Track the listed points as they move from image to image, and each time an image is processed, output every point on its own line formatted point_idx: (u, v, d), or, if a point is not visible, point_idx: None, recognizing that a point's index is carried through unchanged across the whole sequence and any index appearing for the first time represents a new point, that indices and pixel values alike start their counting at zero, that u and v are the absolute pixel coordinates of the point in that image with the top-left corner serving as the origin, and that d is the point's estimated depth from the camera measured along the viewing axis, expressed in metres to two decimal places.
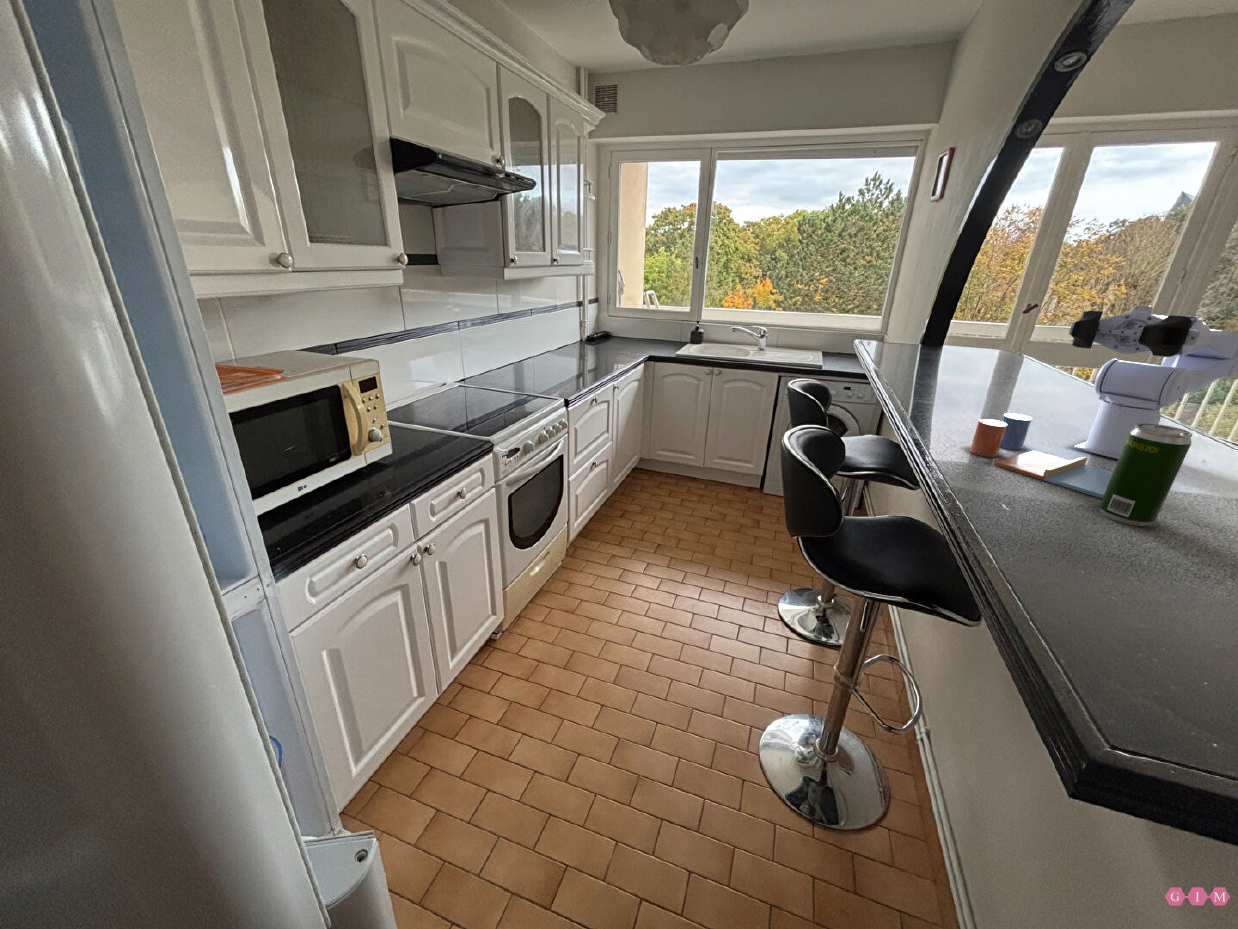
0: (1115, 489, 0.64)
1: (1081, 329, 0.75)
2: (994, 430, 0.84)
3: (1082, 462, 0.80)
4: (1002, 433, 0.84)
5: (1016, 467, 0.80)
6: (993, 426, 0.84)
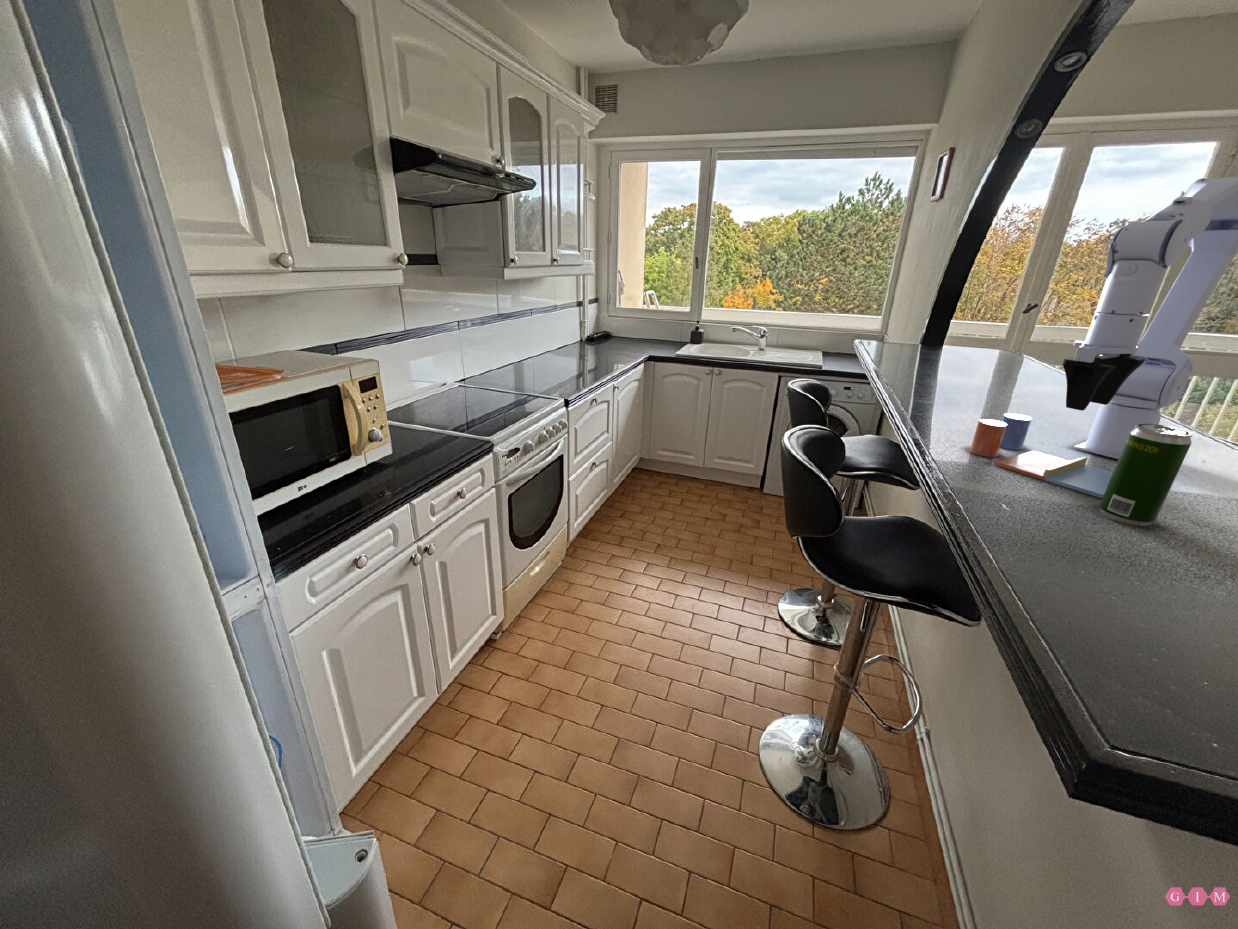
0: (1115, 489, 0.64)
1: (1100, 396, 0.78)
2: (994, 430, 0.84)
3: (1082, 462, 0.80)
4: (1002, 433, 0.84)
5: (1016, 467, 0.80)
6: (993, 426, 0.84)
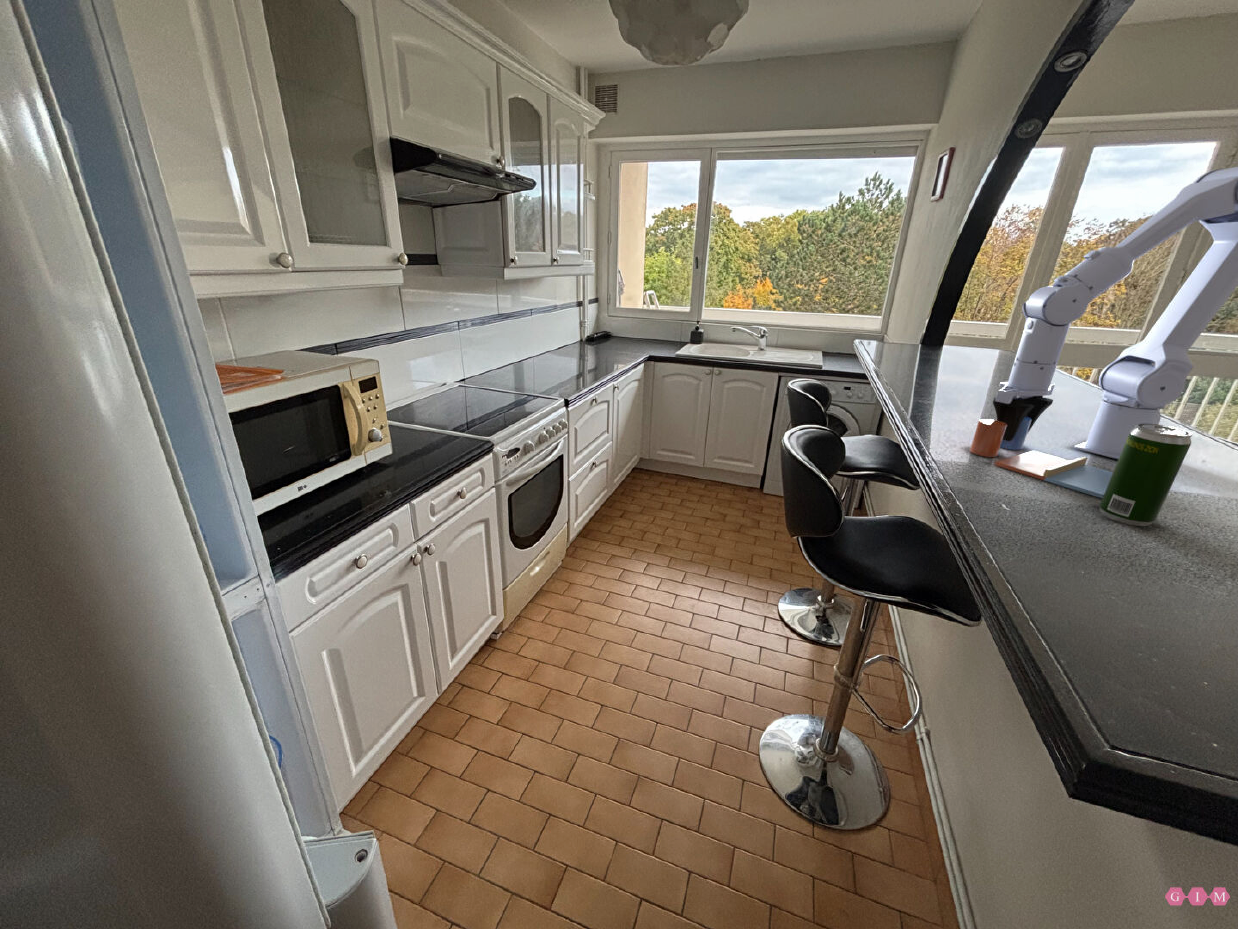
0: (1115, 489, 0.64)
1: None
2: (994, 430, 0.84)
3: (1082, 462, 0.80)
4: (1002, 433, 0.84)
5: (1016, 467, 0.80)
6: (993, 426, 0.84)
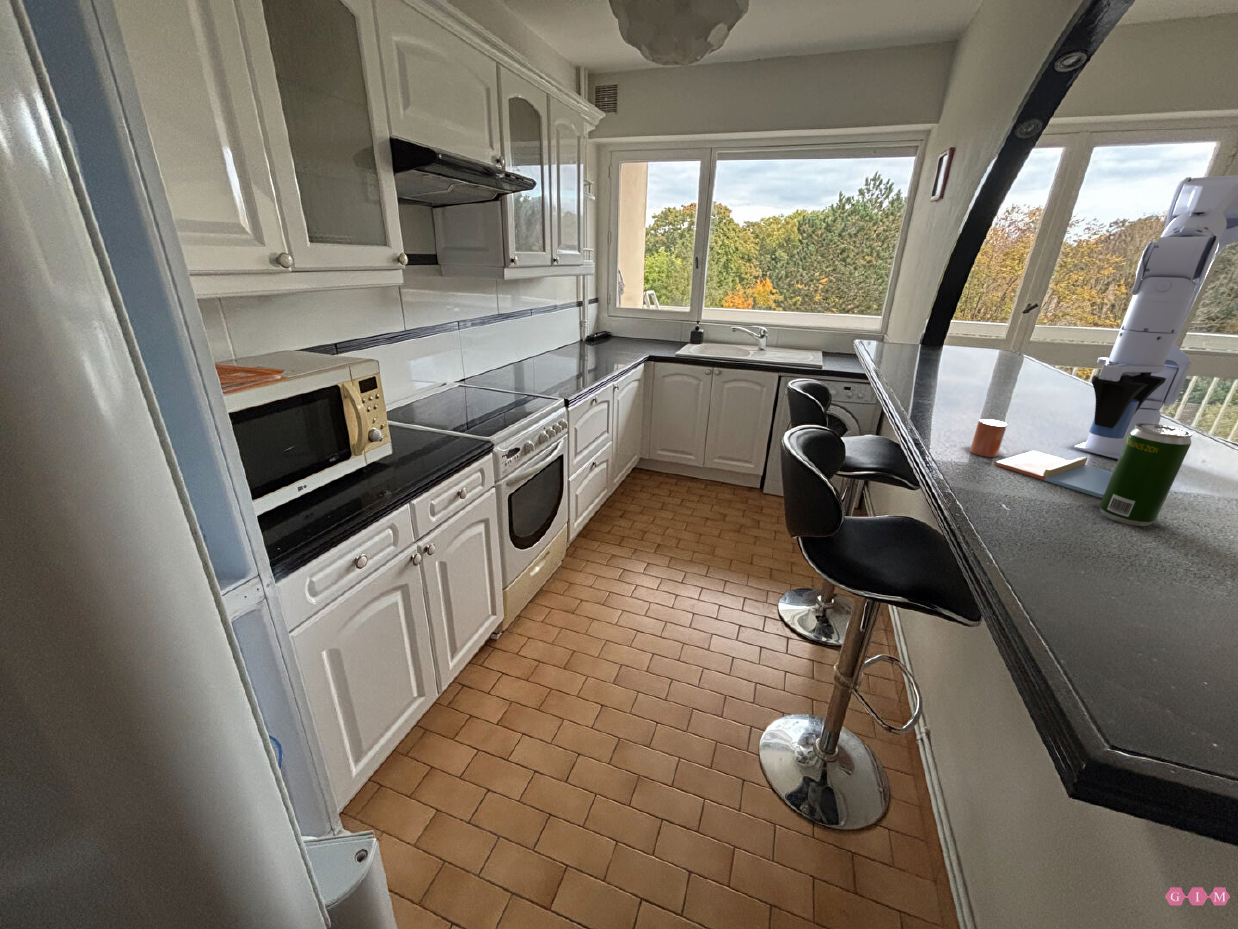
0: (1115, 489, 0.64)
1: None
2: (994, 430, 0.84)
3: (1082, 462, 0.80)
4: (1002, 433, 0.84)
5: (1016, 467, 0.80)
6: (993, 426, 0.84)
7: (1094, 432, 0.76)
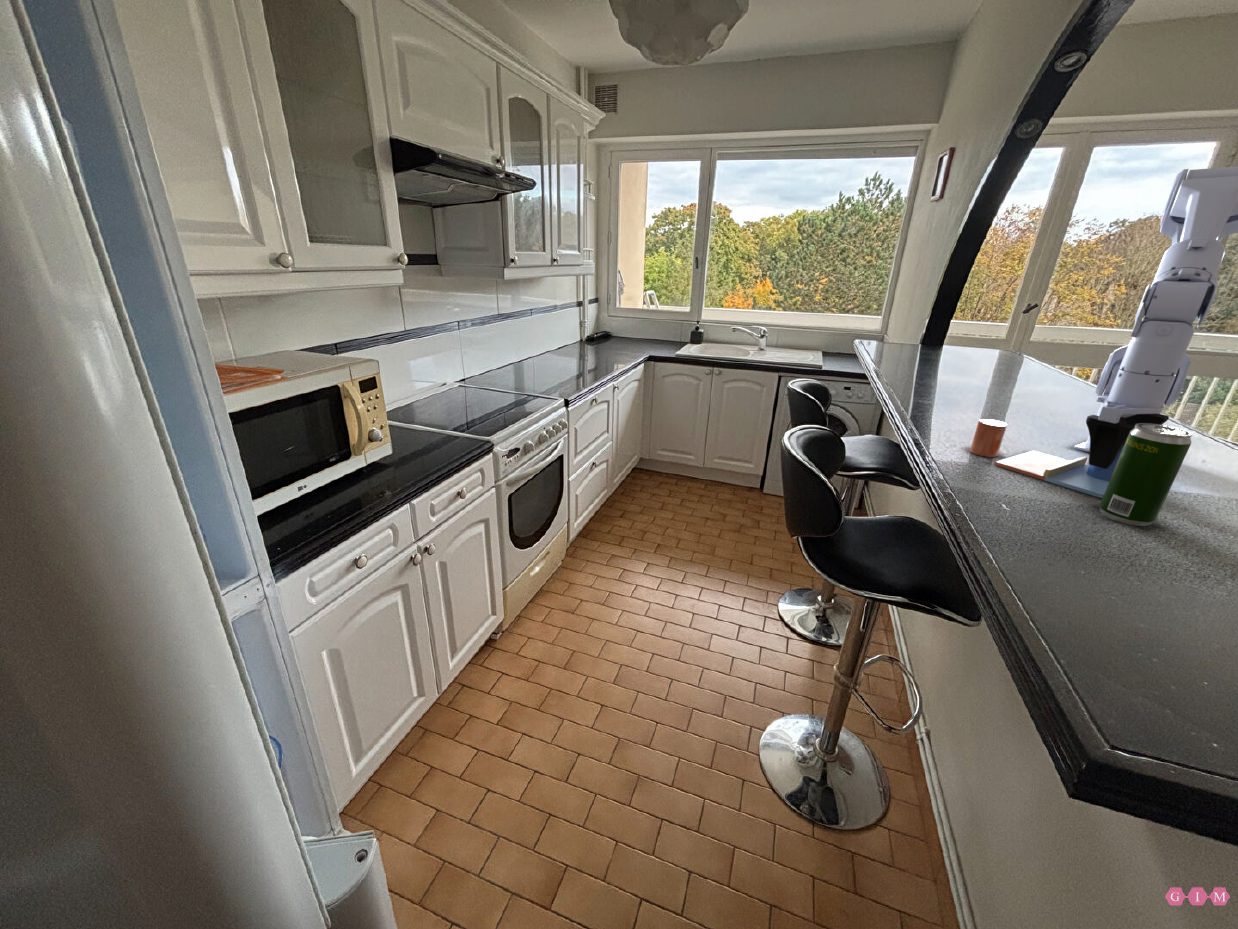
0: (1115, 489, 0.64)
1: None
2: (994, 430, 0.84)
3: (1082, 462, 0.80)
4: (1002, 433, 0.84)
5: (1016, 467, 0.80)
6: (993, 426, 0.84)
7: (1091, 474, 0.76)
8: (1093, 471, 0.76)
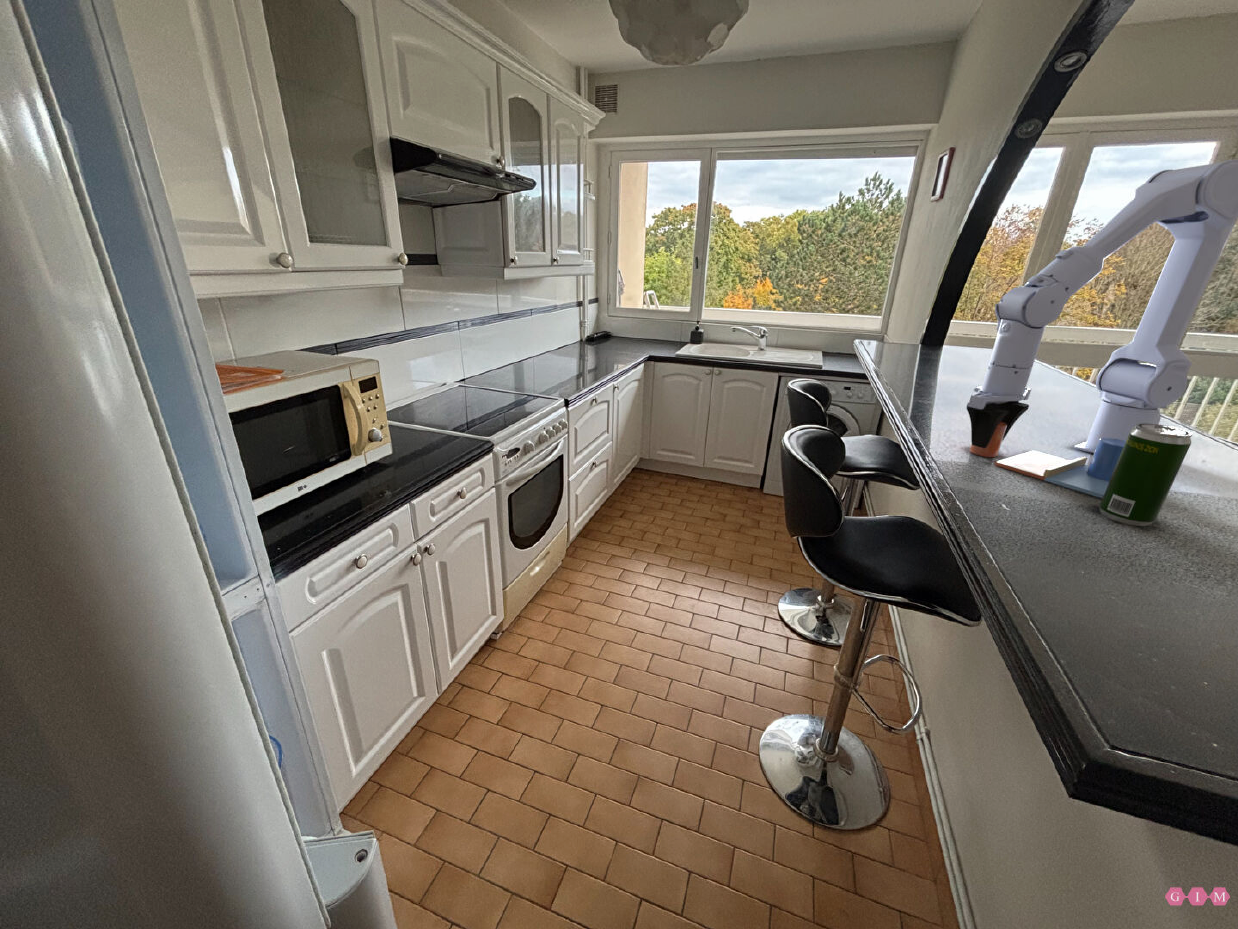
0: (1115, 489, 0.64)
1: None
2: None
3: (1082, 462, 0.80)
4: (1002, 433, 0.84)
5: (1016, 467, 0.80)
6: None
7: (1091, 474, 0.76)
8: (1093, 471, 0.76)
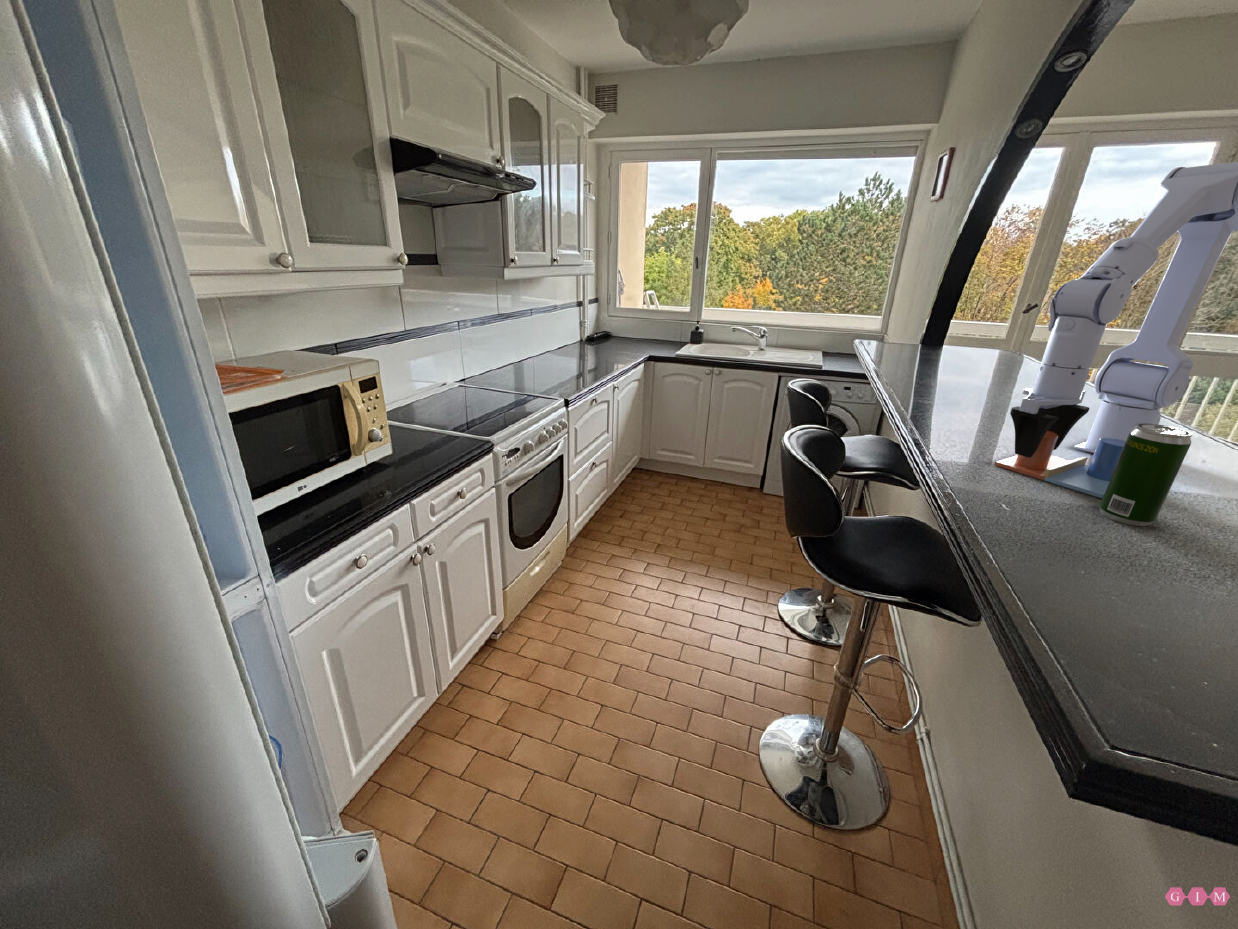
0: (1115, 489, 0.64)
1: None
2: (1044, 441, 0.77)
3: (1082, 462, 0.80)
4: (1053, 444, 0.77)
5: (1016, 467, 0.80)
6: (1043, 437, 0.77)
7: (1091, 474, 0.76)
8: (1093, 471, 0.76)
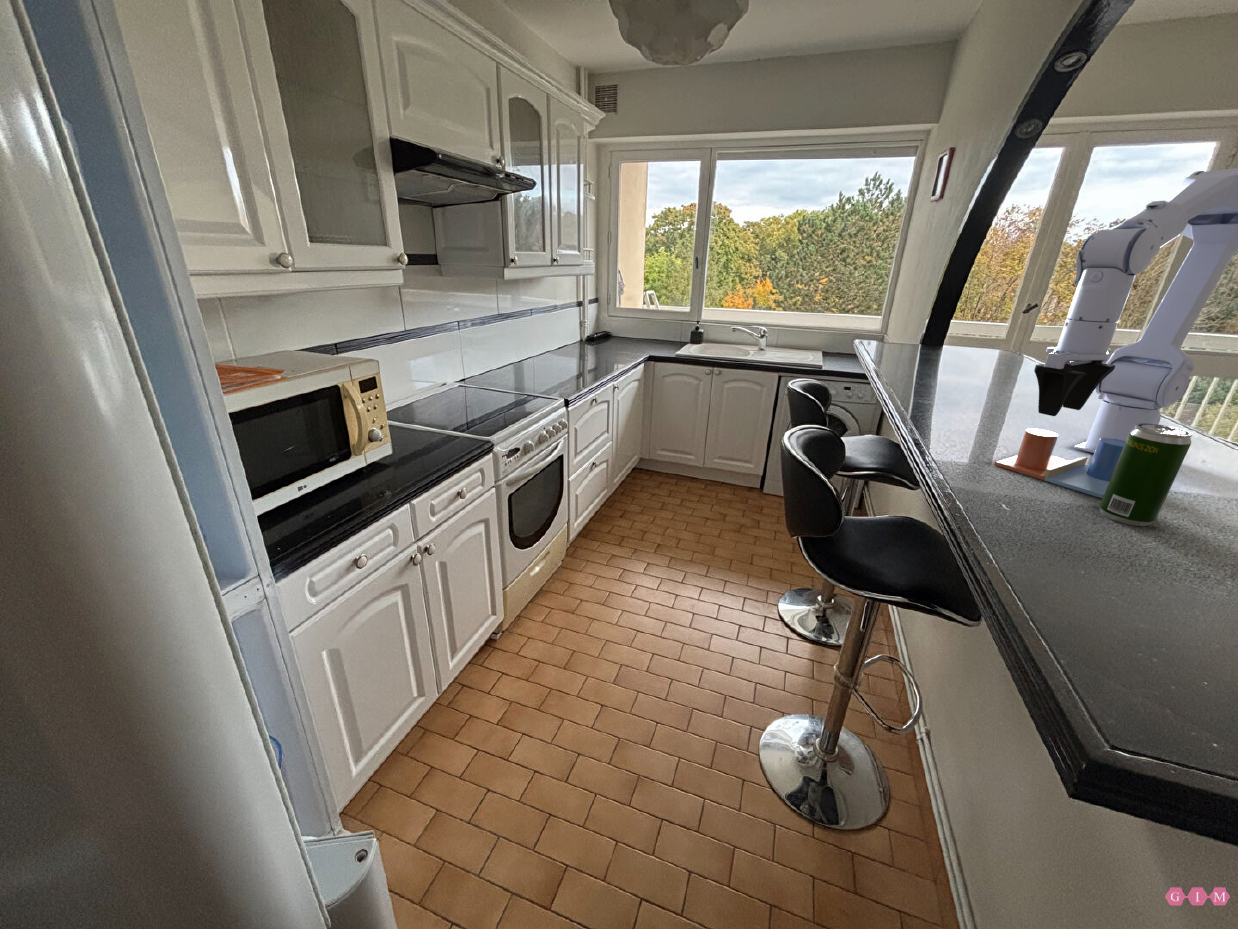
0: (1115, 489, 0.64)
1: (1073, 402, 0.79)
2: (1044, 441, 0.77)
3: (1082, 462, 0.80)
4: (1053, 444, 0.77)
5: (1016, 467, 0.80)
6: (1043, 437, 0.77)
7: (1091, 474, 0.76)
8: (1093, 471, 0.76)
